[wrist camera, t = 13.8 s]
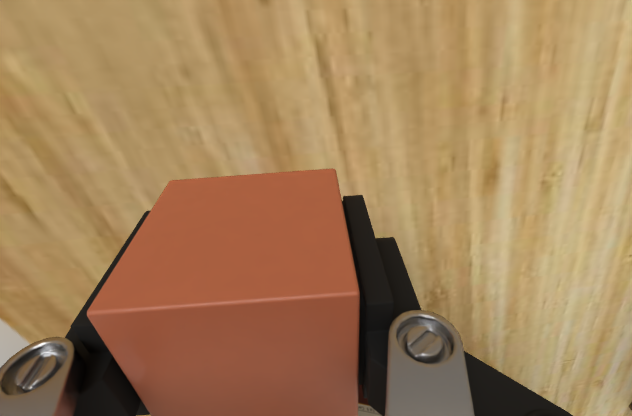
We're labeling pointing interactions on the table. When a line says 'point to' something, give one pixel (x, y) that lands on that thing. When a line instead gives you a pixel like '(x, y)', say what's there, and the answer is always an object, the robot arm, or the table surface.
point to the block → (238, 300)
